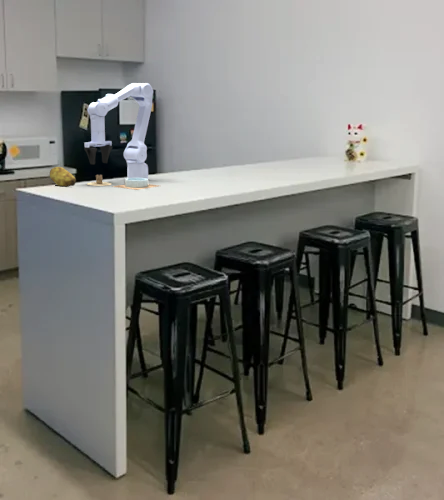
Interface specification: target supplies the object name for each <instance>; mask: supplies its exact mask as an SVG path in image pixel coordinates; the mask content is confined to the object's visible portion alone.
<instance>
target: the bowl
mask: <svg viewBox="0 0 444 500" xmlns="http://www.w3.org/2000/svg"><path fill="white" fill-rule="evenodd" d="M148 184H149V178H148V179H147V178H126V177H125V178H124V185H125V186H126V187H131V188H144V187H148Z"/></svg>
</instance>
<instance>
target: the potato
mask: <svg viewBox="0 0 444 500" xmlns="http://www.w3.org/2000/svg"><path fill="white" fill-rule="evenodd" d="M49 178H50V180H52V182H54V183H55V184H56V186H58V187H73V186H74V185H76V183H77V179H76V177H75V176H74V175H73V174H72V173H71V172H70V171H68V170H67V169H65V168H64V167H62V166H55V167H53V168H51V169H50V170H49Z"/></svg>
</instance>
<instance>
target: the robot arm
mask: <svg viewBox="0 0 444 500" xmlns="http://www.w3.org/2000/svg"><path fill="white" fill-rule="evenodd" d="M153 96H154V89H153V87H152V85H151V84H150V83H148V82H145V83H144V82H142V83H141V82H138V83H137V82H132V83H130V84H128V85H126V86H125V87H124V88H122V89H121V90H120V91H118V92H117V93H115V94H113V93H107V94H105V96H104V97H102V98H98V99H97V101H96V102H94V101H93V102H91V103H90V104H89V106H88V108H87V110H86V111H87V113H88V115H89V119H90V134H91V135H90V136H91V137H90V138H91V141H88V142H83V143H84V148H83V149H84V151H85V153H86V155H87V157H88V160H89V164H90V165H96V155H97V151H98V148H96V147H99V149H100V153H101V162H102V163H103V164H108V162H109V161H108V160H109V158H110V157H109V156H110V154H111V152H112V150H113V146H112V144H113V143H112V140H106V132H105V131H106V130H105V128H106V127H105V123H106V122H105V121H106V119H105V116H106V115H107V114H108V112H109V111H111V110H112V109H114V108H116V107H118V105H119V102H121V101H123V100H125V99H128V98H130V97H131V98H132V99H133V101H135V102H136V103H137V104H138V106H139V107H138V111H137V115H136V119H135V124H134V128H133V133H132V139H131V140H130V141H129V142H128V143H127V145H126V147H125V149H124V151H123V158H124V159H125V161H126V167H127V169H126V170H127V171H126V172H127V178H147V179H148V180H149V166H148V164H147V162H146V163H145V161H147V157H148V154H147V150H148V147H147V145H146V144H145V140H146V139H145V138H146V135H147V131H148V126H149V122H150V121H149V120H150V116H151V112H152V107H153Z"/></svg>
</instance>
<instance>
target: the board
mask: <svg viewBox="0 0 444 500" xmlns="http://www.w3.org/2000/svg"><path fill="white" fill-rule="evenodd" d="M111 187H112V188H118V189H126V190H127V189H129V190H135V191H136V190H137V191H139V190H145V189H150V188H157V187H158V188H159V187H160V185H158V184H149V183H148V187H144V188H131V187H126V186H125V184H119V185H113V186H111Z"/></svg>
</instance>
